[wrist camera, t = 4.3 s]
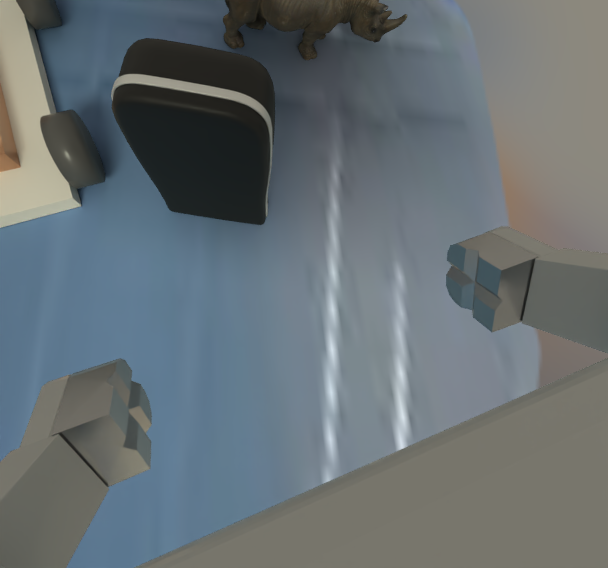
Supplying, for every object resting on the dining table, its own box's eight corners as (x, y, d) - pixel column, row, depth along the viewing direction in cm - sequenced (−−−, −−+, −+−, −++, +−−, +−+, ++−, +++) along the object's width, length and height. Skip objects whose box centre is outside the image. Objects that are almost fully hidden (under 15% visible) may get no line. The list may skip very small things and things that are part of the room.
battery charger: (275, 179, 27) (283, 43, 16) (267, 228, 26) (271, 120, 15) (176, 163, 26) (113, 10, 15) (165, 213, 25) (89, 89, 14)
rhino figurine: (393, 74, 30) (425, 3, 24) (222, 54, 29) (212, -26, 23) (392, 33, 31) (422, -45, 25) (227, 12, 30) (218, -75, 24)
